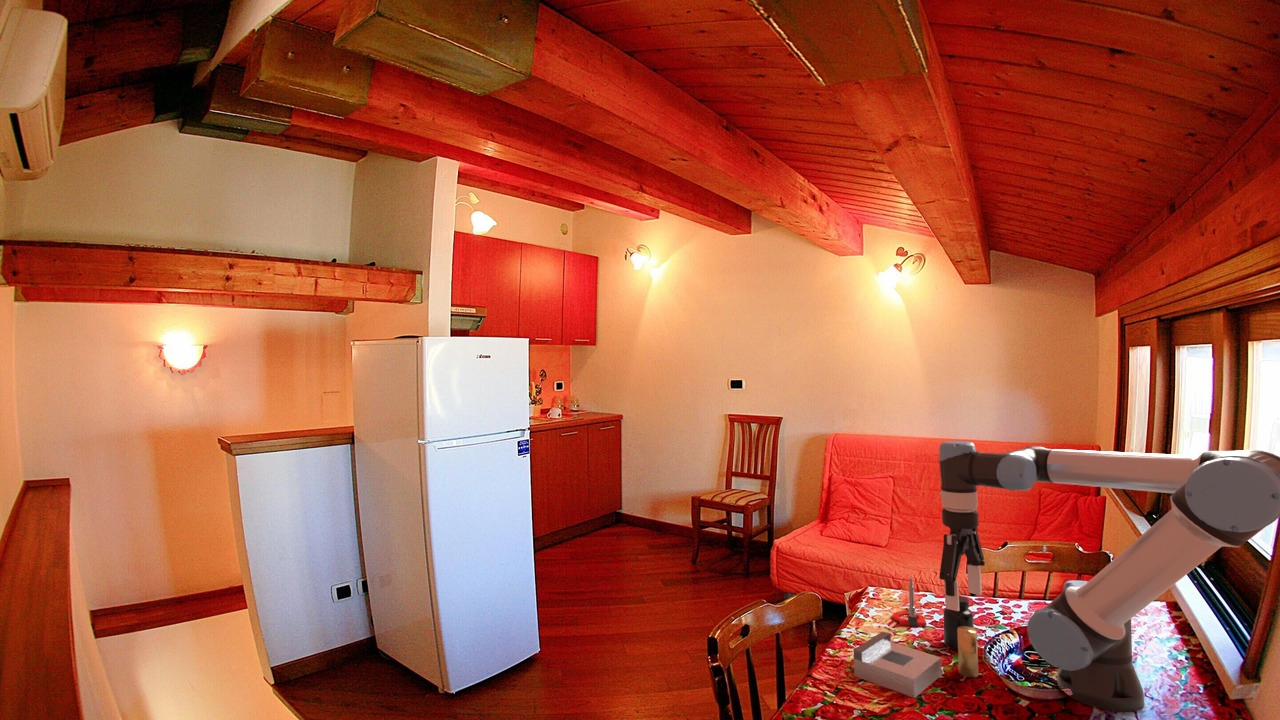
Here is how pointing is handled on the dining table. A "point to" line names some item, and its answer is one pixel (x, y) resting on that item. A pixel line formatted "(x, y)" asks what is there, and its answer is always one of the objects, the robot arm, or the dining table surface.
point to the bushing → (967, 651)
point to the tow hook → (910, 612)
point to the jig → (895, 665)
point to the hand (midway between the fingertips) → (964, 601)
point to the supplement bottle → (956, 622)
